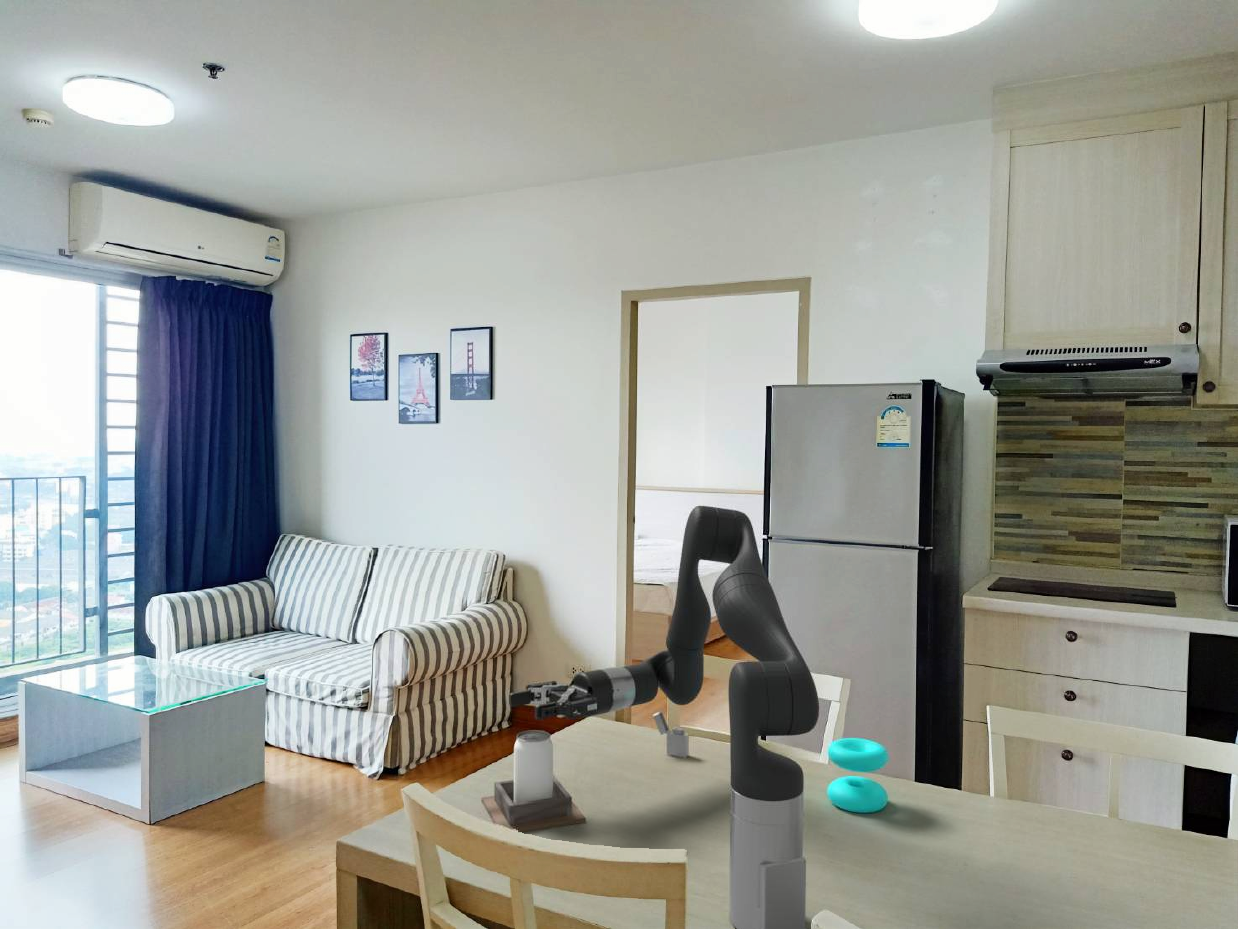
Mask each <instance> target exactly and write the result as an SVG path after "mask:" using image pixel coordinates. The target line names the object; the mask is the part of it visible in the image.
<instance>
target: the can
mask: <svg viewBox="0 0 1238 929" xmlns="http://www.w3.org/2000/svg"><path fill="white" fill-rule="evenodd" d="M515 740H516V741H515V743H514V745H513V746H514V747H513V780H514V803H520V802H527V801H534V800H541V799H548V798H553V775H554V744H553V741H552V739H551V734H550V733H549V732H547V731H545V730H538V729H537V730H534V729H533V730H525V731H522V732H519V733H517V734H516V739H515Z"/></svg>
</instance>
